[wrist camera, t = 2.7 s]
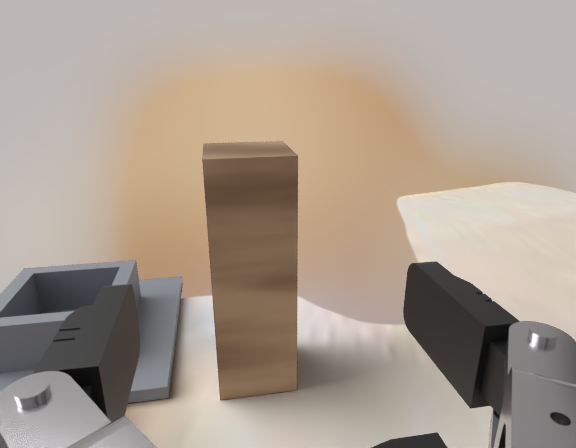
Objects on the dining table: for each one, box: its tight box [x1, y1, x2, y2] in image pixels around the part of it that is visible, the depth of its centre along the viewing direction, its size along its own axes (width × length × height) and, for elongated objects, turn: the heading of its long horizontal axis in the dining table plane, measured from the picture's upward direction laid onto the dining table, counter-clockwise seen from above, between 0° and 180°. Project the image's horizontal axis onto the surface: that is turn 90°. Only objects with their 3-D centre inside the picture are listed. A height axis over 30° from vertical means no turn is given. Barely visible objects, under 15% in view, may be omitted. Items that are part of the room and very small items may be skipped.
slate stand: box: [0, 260, 182, 403], centre depth 29 cm, size 14×14×4 cm
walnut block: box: [202, 141, 298, 400], centre depth 24 cm, size 4×4×14 cm
